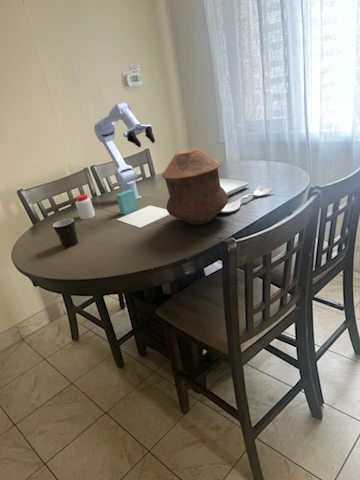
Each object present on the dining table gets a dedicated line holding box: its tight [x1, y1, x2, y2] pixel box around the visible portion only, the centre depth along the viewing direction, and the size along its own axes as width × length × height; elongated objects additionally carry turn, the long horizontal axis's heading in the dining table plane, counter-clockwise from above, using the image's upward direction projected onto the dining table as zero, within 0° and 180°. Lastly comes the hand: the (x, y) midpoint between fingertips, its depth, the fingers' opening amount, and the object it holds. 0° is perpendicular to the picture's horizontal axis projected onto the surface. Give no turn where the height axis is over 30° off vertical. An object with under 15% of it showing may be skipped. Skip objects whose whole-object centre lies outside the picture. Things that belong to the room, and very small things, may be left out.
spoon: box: [219, 185, 275, 214], centre depth 156 cm, size 9×32×4 cm, turn 128°
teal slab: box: [115, 190, 139, 216], centre depth 171 cm, size 4×8×10 cm, turn 130°
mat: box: [116, 205, 171, 229], centre depth 163 cm, size 20×20×1 cm
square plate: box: [219, 178, 250, 197], centre depth 177 cm, size 27×27×4 cm
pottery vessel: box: [161, 147, 229, 225], centre depth 140 cm, size 26×26×30 cm
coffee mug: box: [52, 218, 79, 249], centre depth 144 cm, size 12×9×10 cm
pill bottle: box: [75, 193, 96, 220], centre depth 176 cm, size 8×8×11 cm
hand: (147, 143), depth 159 cm, fingers open, 7 cm apart
